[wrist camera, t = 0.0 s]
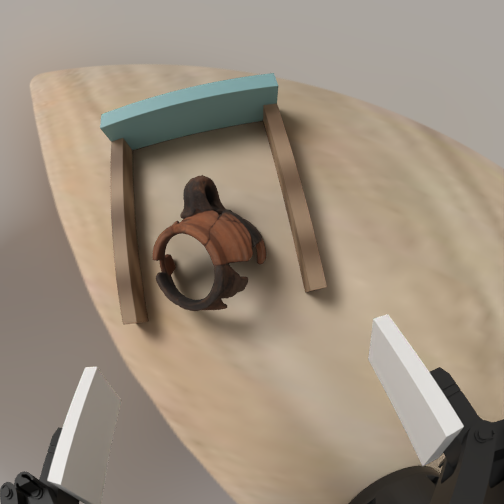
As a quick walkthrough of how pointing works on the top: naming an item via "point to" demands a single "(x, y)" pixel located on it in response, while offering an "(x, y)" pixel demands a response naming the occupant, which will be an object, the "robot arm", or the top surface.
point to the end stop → (191, 110)
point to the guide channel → (126, 224)
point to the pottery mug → (209, 245)
